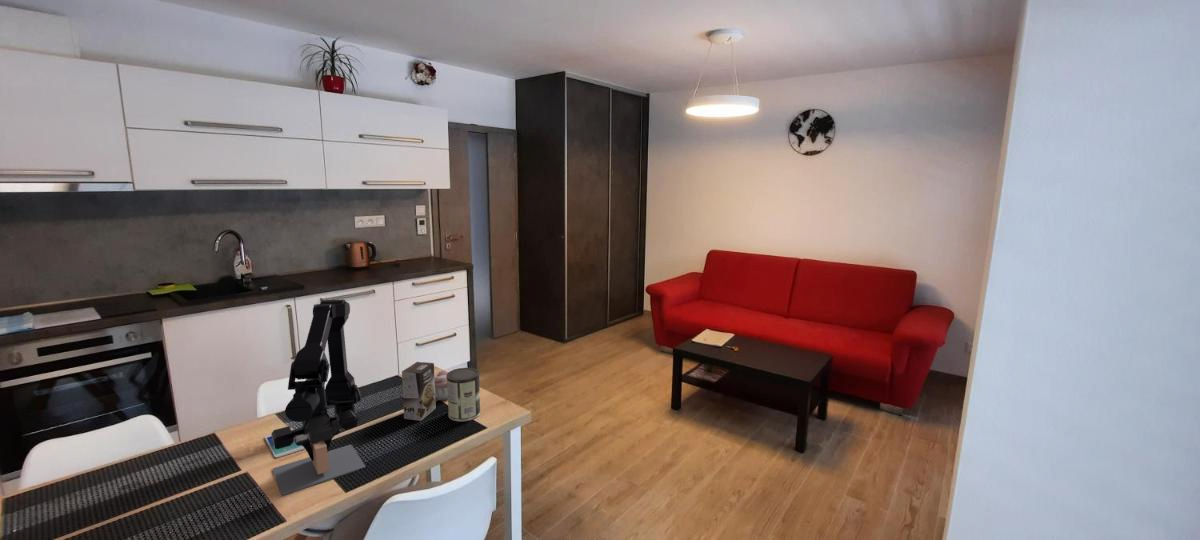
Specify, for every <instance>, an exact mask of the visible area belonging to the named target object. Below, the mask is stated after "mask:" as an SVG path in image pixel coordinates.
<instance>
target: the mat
mask: <svg viewBox="0 0 1200 540" xmlns="http://www.w3.org/2000/svg"><path fill="white" fill-rule="evenodd" d="M327 454H328V465H329V471H327V472H324V473H321V474H318V473H317V471H316V469H315V467H314V465H313V463H312V460H311V458H310V456H308V457H305V458H302V459H299V460H296V461H292V462H288V463H286V464H282V465H279V466H275V467H273V468H272V472H273V475H274V477H275V481H276V483H277V487H278V491H279V493H280V497H284V496H286V495H289V494H293V493H296V492H299V491H301V490H304V489H307V488H308V489H309V488H310V487H314V486H317V485H319V484H322V483H325V482H328V481H331V480H334V479H336V478H340V477H343V476H345V475H349V474H352V473H354V472H357V471H361V470H363V468H364V469H366V467H367V466H366V464H365V462H363V460H362V458H361V457H360V456H359V454H358V452H357V450H356V449H355V447H354V446H353V445H352V444H348V445H344V446H342V447H338V448H335V449H331V450H328V452H327ZM360 469H361V470H360Z"/></svg>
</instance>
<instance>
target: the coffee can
mask: <svg viewBox="0 0 1200 540" xmlns="http://www.w3.org/2000/svg"><path fill="white" fill-rule="evenodd" d="M480 373H481V372H480V371H479V370H478V369H477V368H474V367H460V368H456V369H452V370H449V371H448V373H447V375H446V378H447V392H448V399H447V406H448V407H447V409H448V412H447V413H448V415H447V416H448V418H449V419H450V420H452V421H454V422H461V423H462V422H468V421H472V420H475V419H476V418H478V417H480V415H481V397H480V396H481V395H480V393H481V392H480V390H481V389H480Z"/></svg>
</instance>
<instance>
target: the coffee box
mask: <svg viewBox="0 0 1200 540" xmlns="http://www.w3.org/2000/svg"><path fill="white" fill-rule="evenodd" d="M434 377H435V363H433V362H428V361H427V362H424V361H423V362H422V361H416V362H415V363H413V364H412V365H410V366H408V367H406V368H405V369H404V370H402V371H401V379H402V380H401V381H402V382H401V383H402V398H403V399H402V401H403V402H402V404H403V418H404V419H405V420H413V421H419V422H421V421H423V420H424V419H425V418H427V416H428V415H430V414H431V413H433V411H435V410H436V408H437V407H436V399H435V379H434Z"/></svg>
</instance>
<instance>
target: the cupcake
mask: <svg viewBox="0 0 1200 540" xmlns="http://www.w3.org/2000/svg"><path fill="white" fill-rule="evenodd" d="M448 372H449V371H448V370H446V369H442V370H440V371H438V373H437V374H436V375H434V379H435V400H438V401H444V400H445V401H448V392H447V378H446V375H447V373H448Z"/></svg>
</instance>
